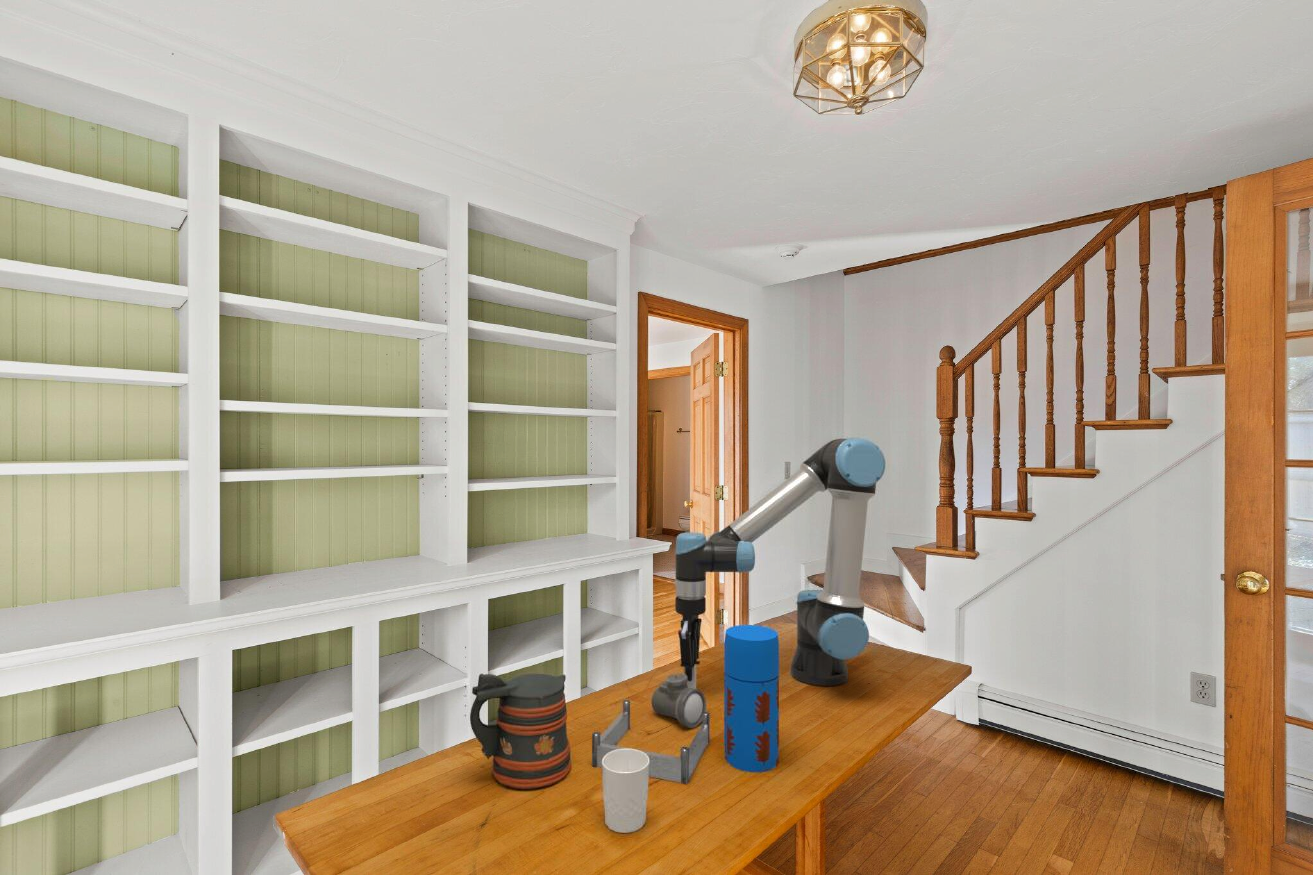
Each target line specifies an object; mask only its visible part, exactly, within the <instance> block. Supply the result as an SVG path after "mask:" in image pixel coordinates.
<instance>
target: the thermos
mask: <svg viewBox="0 0 1313 875" xmlns="http://www.w3.org/2000/svg"><path fill="white" fill-rule="evenodd" d="M723 642H724V645H723V646H724V650H723V651H724V655H723V656H724V657H723V658H724V660H723V661H724V664H723V665H724V666H723V668H724V669H723V671H724V674H723V675H724V676H723V677H724V680H723V684H724V689H723V691H724V692H723V693H724V695H723V697H724V699H723V700H724V701H723V704H724V705H723V706H724V707H723V710H724V712H723V713H724V714H723V741H724V742H723V744H724V759H725V761H726V763H727V764H729V766H732V767H733V768H734V769H737V770H738V771H739V770H740V771H743V772H749V773H763V772H768V771H770V770H772V769H774V768H775V767H776V766H777V764H778V761H779V747H780V744H779V743H780V720H779V719H780V681H779V680H780V642H779V634H778V631H776V630H775V629H773V628H770V627H768V626H763V625H754V624H740V625H733V626H730V627H728V628H727V629H725V636H724V641H723Z"/></svg>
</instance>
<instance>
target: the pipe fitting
mask: <svg viewBox="0 0 1313 875" xmlns="http://www.w3.org/2000/svg"><path fill="white" fill-rule="evenodd" d="M687 682H688V678H687V675H685V674H684V673H673V674H671V675H668V676H667V677H665V681H662V682H661V683H660V684H659V685H658V688H656V689H655V690H654V691H653V693H652V696H651V699H650V700H651V701H650V702H651V708H652V710H653V711H654V712H655V713H656V714H659V715H661V716H666V717H669V718H673V719H677V721H678V722H679V724H680V725H681V726H683V727H685V728H690V729H695V728H697V727H698V726H700V724H702V712H707V701H706V697H705V694H704V693H703V692H702V690H700V689H698V688H696V689H694V688H688V686H687Z"/></svg>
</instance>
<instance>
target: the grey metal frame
mask: <svg viewBox="0 0 1313 875" xmlns="http://www.w3.org/2000/svg"><path fill="white" fill-rule="evenodd" d="M710 714H711V713H710V712H709V711H706V712H702V722H701V725H700V727H699V729H698V731H697V732H696V733H695V736H694V737H693V738H692V740H691V742H690V744H689V746H688V747H687V746H681V747H680V751H679V752H680V753H679V754H680V755H679V756H676V755H669V754H663V753H659V752H652V751H646V750H641V749H638V748H637V749H636V750H639V751H642V752H644V753H645V754H646V755H647V756H648V757H649V778H655V779H659V780H660V779H661V780H666V781H672V782H675V783H680V784H682V785H683V784H684V785H687V784H689V783H690V778H691V776H693V775H692V774H693V772H694V771H695V769H696V767H697V765H698V764H699V761H700V760H701V757H702V756H703V754H704V752H705V751H706V748H707V746H708V745H709V744H710V741H711V740H710V739H711V738H710V737H711V736H710V733H711V732H710V730H711V729H710V724H711V723H710V722H711V721H710V719H711V715H710ZM630 729H631V701H630V700H629V699H624V700H623V701H622V712H621V713H620V714H619V715H617V717H616V718H615V719H614V720H613V721H612V722H611V723H610V724H609V725H608V726H607V728H606V729H605V730H604V731H603V732H602V733H601V732H600V731H593V732H592V733H591V766H592V767H595V768H597V767H598V768H602V759H603V757H604V756H605V755H606V754H607V753H609V752H611V751H614V750H618V749H632V748H631V747H625V746H618V745H617V744H618V743H619V742H620V740H621V739H622V737H624V736H625V735H626V733H627V732H628V731H629V730H630Z"/></svg>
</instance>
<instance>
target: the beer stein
mask: <svg viewBox="0 0 1313 875" xmlns="http://www.w3.org/2000/svg"><path fill="white" fill-rule="evenodd" d="M566 679H567V678H566V674H562V675H558V676H556V675H555V676H554V675H552V674H551V675H550V674H545V673H528V674H527V673H526V674H522V675H519V676H516V677H514V678H511V679H509V680H503V679H502V678H501V677H500V676H498V675H496V674H492V673H487V674H485V673H484V674H483V673H480V674H479V675H478V681H477V686H472V690H471V691H472V692H471V693H472V695H474V696H475V699H474V701H473V703H472V706H471V709H470V712H469V713H470V714H469V721H470V727H471V730H472V732H473V734H474V736H475V737H476V739H477V741H478V743H479V744H480V745H481V746H482V748H481V753H482V755H483V756H485V757H486V758H487V760H489V759H490V758H491V757H492V759H493V760H492V768H491V771H492V774H493V775H494V776H493V777H494V778H495V780H497V782H499V783H500V784H501V785H502V786H506V787H510V788H512V789H516V790H531V789H532V790H533V789H539V788H543V787H544V788H545V787H548V786H551V785H554V784H557V783H558V782H560V781H561V780H562V779H564V778H565V777H566V776H567V775H568V773H569V772H570V769H571V767H572V761H571V760H572V759H571V745H570V741H569V739H568V731H567V730H568V728H567V718H568V714H567V713H568V711H567V703H566V694H565V688H566V687H565V686H566V685H565V682H566ZM492 699H499V700H498V701H499V702H498V709H497V717H496V723H495V724H485V723H483V722H482V720H481V717H480V712H481V709H482V707H483V705H484V704H485V703H486V702H487V701H489V700H492Z"/></svg>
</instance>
